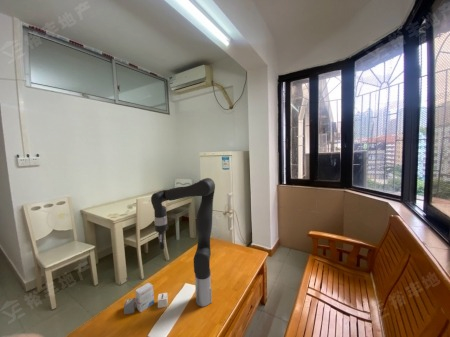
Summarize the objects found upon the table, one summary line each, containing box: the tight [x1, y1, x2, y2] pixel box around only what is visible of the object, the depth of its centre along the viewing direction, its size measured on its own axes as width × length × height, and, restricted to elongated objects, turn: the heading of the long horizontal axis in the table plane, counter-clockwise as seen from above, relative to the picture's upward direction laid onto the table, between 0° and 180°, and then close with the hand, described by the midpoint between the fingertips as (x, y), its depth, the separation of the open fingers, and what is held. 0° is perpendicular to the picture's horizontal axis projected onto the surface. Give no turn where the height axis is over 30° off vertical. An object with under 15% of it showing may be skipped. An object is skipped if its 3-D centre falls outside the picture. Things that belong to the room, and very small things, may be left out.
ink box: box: [134, 282, 155, 313], centre depth 111 cm, size 9×5×12 cm, turn 141°
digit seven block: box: [123, 297, 137, 315], centre depth 108 cm, size 5×5×5 cm
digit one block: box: [157, 292, 169, 309], centre depth 112 cm, size 5×5×5 cm
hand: (162, 248), depth 119 cm, fingers closed
